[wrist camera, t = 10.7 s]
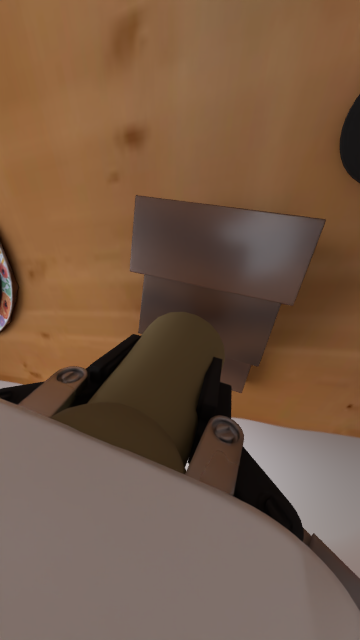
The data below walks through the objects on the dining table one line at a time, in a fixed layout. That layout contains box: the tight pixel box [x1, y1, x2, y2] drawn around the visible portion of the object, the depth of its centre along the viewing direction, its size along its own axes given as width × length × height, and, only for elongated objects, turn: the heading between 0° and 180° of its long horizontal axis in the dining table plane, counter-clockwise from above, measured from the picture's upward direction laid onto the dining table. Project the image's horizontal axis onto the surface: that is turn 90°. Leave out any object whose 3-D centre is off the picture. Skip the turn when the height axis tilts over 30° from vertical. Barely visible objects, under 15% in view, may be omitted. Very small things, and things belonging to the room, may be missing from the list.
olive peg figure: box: [50, 312, 225, 475], centre depth 8 cm, size 6×6×11 cm
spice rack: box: [130, 195, 326, 393], centre depth 23 cm, size 21×15×10 cm
